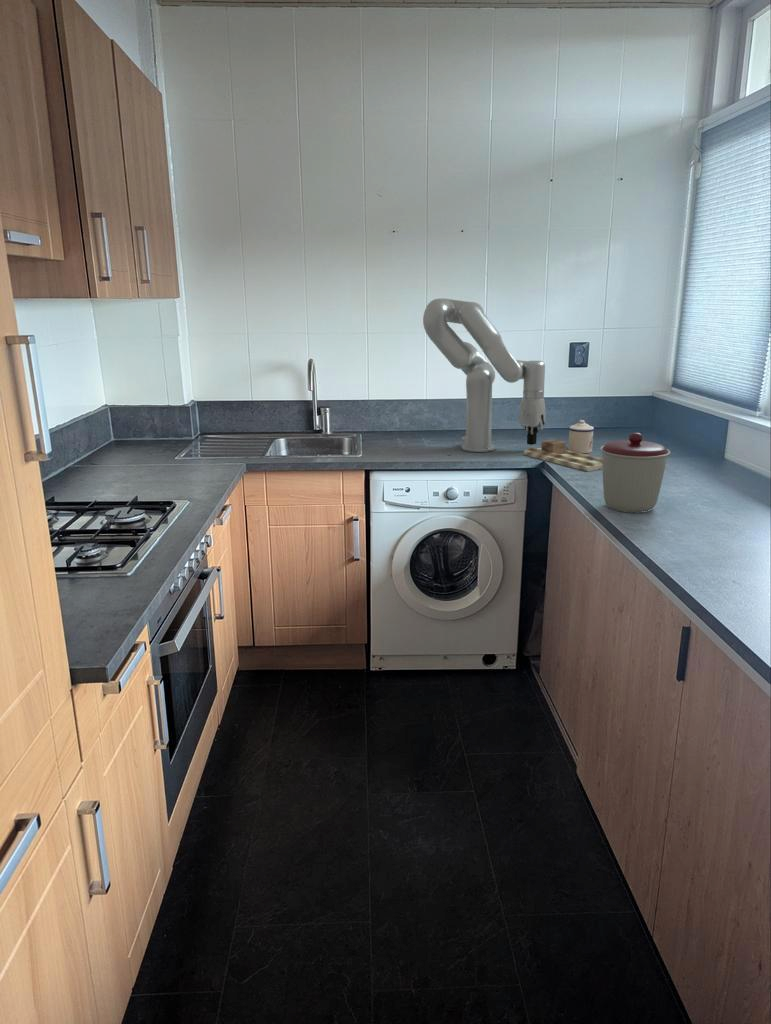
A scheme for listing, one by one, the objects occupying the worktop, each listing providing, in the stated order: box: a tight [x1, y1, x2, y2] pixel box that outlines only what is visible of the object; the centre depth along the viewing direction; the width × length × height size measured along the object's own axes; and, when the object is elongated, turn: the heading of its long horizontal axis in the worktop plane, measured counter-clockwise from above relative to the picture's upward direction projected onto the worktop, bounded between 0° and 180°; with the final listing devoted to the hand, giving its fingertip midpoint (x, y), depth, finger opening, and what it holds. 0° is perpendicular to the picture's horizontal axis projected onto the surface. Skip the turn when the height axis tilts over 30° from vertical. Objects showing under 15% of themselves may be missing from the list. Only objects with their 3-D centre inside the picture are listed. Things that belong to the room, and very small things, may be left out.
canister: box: [599, 432, 671, 513], centre depth 198 cm, size 18×18×21 cm
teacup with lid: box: [567, 419, 595, 455], centre depth 273 cm, size 12×9×12 cm
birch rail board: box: [523, 446, 603, 472], centre depth 258 cm, size 32×12×2 cm, turn 31°
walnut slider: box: [540, 439, 567, 454], centre depth 263 cm, size 6×6×4 cm
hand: (531, 443), depth 273 cm, fingers closed
